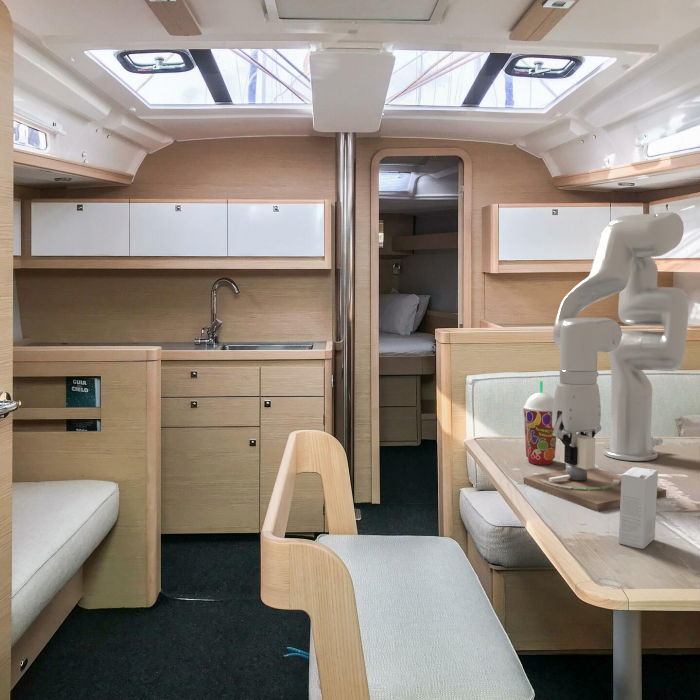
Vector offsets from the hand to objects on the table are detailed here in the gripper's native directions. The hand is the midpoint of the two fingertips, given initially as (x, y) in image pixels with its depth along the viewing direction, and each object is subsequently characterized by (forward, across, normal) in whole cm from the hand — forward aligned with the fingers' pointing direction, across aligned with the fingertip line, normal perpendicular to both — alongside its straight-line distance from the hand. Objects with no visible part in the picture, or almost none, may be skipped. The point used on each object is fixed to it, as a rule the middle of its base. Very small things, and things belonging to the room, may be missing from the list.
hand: (576, 462), depth 145 cm
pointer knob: (+3, +3, 0) cm, 4 cm away
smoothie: (+5, -7, -19) cm, 21 cm away
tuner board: (+5, 0, +4) cm, 7 cm away
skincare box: (+5, +15, +29) cm, 33 cm away
